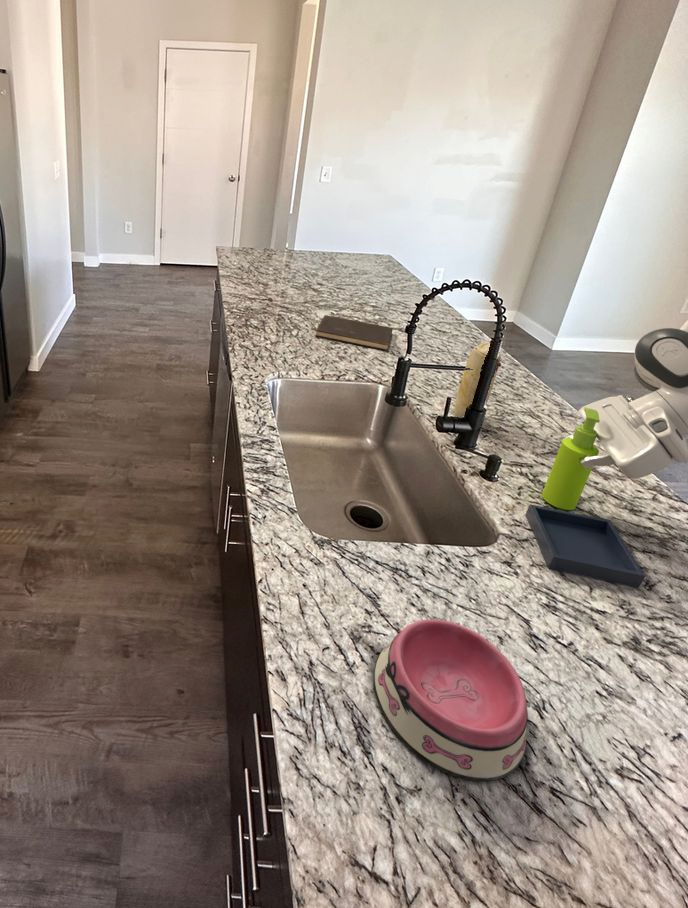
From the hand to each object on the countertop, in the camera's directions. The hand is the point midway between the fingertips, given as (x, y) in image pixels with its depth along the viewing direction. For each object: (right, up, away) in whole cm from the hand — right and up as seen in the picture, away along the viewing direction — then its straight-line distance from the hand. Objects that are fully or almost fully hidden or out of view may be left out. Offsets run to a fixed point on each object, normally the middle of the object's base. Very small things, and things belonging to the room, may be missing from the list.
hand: (574, 453), depth 104 cm
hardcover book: (-18, +25, +77) cm, 83 cm away
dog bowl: (-42, -27, -33) cm, 59 cm away
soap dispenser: (0, -10, +5) cm, 12 cm away
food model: (-4, +3, +32) cm, 33 cm away
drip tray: (-5, -16, -7) cm, 18 cm away
